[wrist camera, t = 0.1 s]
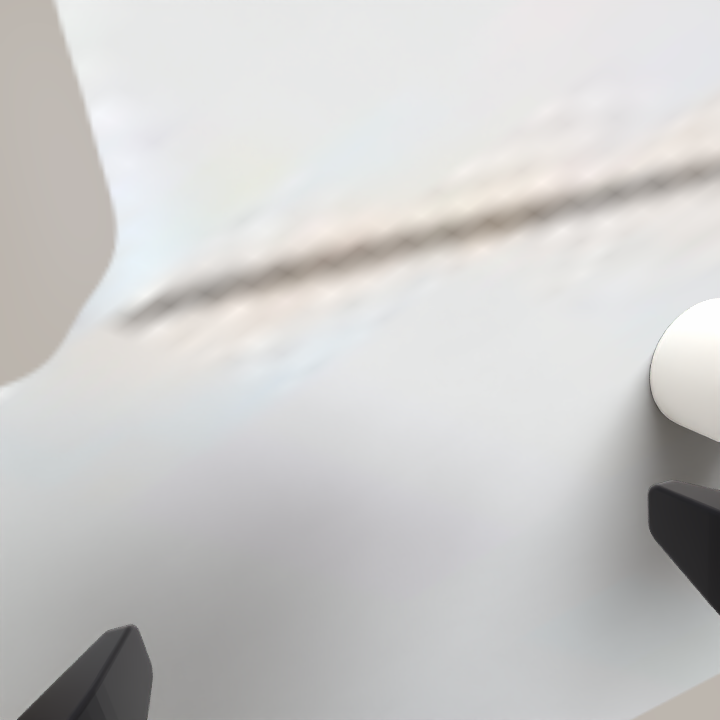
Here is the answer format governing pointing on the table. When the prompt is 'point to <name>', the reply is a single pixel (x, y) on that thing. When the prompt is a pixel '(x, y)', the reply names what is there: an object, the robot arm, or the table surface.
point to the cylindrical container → (690, 370)
